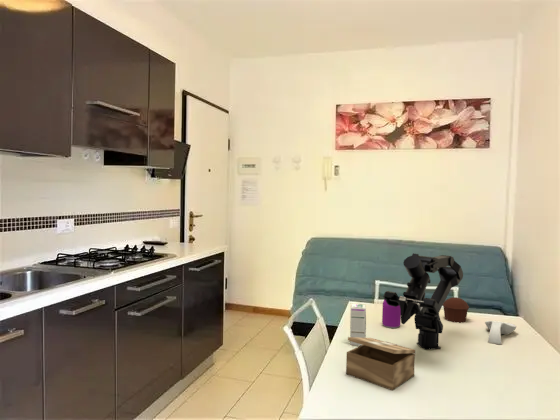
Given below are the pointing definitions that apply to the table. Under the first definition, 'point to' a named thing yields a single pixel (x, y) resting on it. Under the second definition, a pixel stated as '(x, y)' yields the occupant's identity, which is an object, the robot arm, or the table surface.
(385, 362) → the brown wooden box base
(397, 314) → the beverage can
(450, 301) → the muffin
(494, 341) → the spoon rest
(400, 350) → the lid
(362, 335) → the syrup box
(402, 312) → the robot arm
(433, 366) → the table surface
